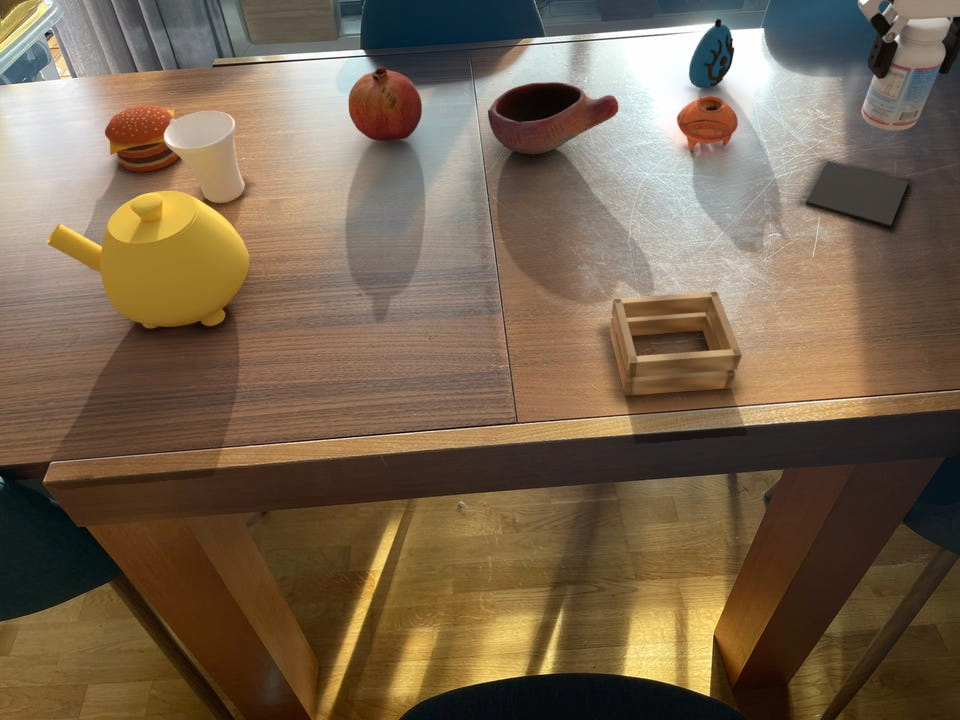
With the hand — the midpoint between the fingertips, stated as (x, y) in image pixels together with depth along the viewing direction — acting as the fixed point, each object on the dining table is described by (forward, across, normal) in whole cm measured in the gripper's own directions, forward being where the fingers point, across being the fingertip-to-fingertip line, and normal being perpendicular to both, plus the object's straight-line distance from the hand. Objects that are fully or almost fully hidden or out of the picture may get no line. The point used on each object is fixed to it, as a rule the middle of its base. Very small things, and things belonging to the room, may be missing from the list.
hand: (907, 69), depth 80 cm
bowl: (+17, -37, +17) cm, 44 cm away
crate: (+16, -30, -25) cm, 42 cm away
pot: (+17, -16, +14) cm, 27 cm away
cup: (+17, -82, +10) cm, 84 cm away
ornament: (+17, -11, +29) cm, 35 cm away
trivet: (+16, 0, 0) cm, 16 cm away
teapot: (+17, -84, -10) cm, 86 cm away
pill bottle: (+6, 0, 0) cm, 6 cm away
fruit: (+17, -60, +21) cm, 65 cm away
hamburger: (+17, -94, +21) cm, 98 cm away
